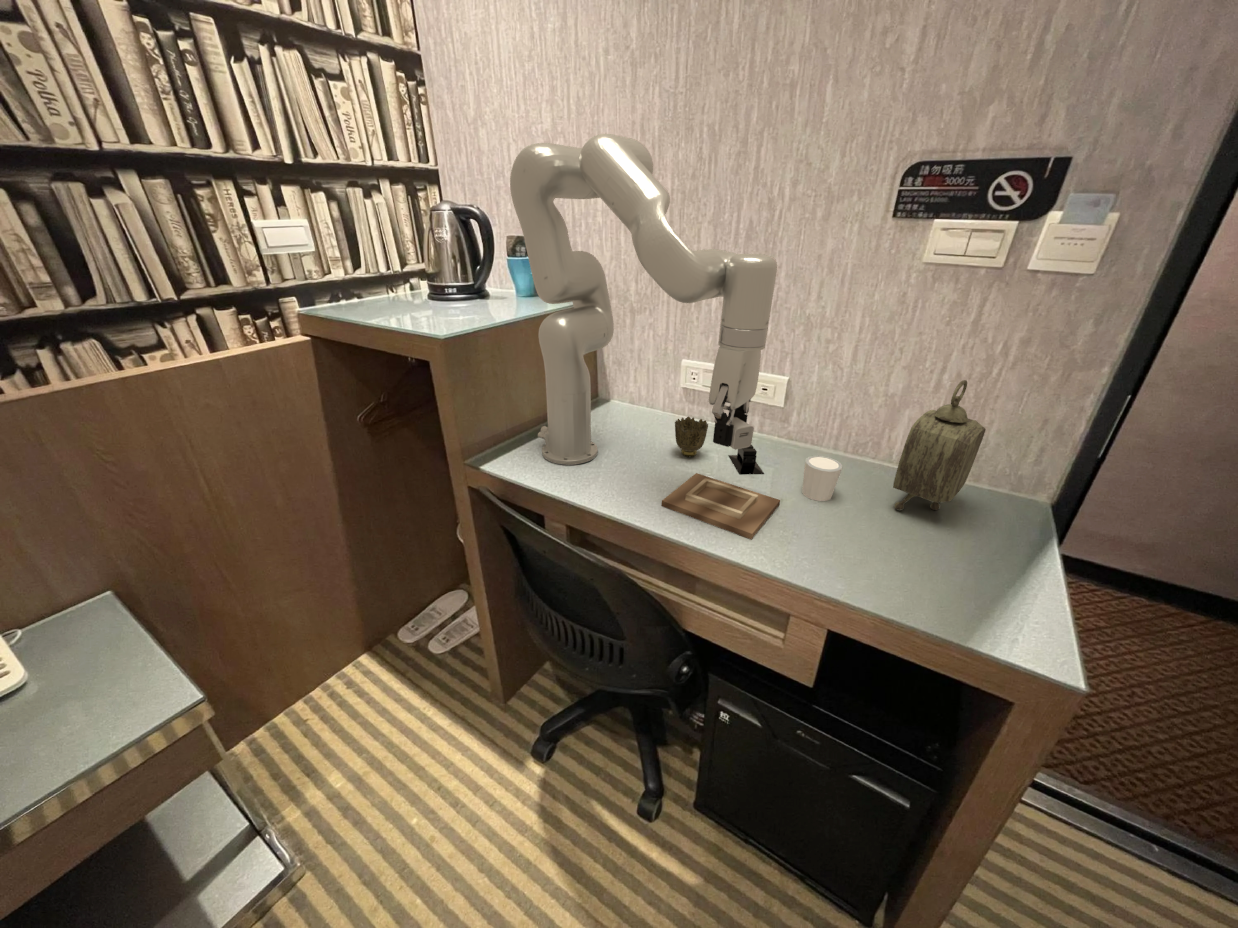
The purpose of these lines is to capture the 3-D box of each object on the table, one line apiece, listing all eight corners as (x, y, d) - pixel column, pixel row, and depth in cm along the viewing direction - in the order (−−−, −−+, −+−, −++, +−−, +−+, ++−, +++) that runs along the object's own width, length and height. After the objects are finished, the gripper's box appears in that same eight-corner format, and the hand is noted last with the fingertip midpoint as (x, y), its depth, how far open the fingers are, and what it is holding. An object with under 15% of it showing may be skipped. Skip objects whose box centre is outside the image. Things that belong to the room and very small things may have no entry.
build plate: (769, 479, 108) (773, 460, 105) (736, 480, 107) (739, 460, 105) (751, 454, 119) (754, 436, 117) (721, 454, 118) (723, 436, 116)
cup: (710, 453, 117) (713, 421, 114) (696, 465, 112) (700, 431, 108) (681, 445, 121) (683, 414, 117) (666, 456, 115) (669, 424, 111)
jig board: (661, 505, 96) (662, 495, 95) (695, 477, 106) (696, 467, 105) (751, 539, 87) (753, 527, 86) (779, 505, 97) (781, 494, 96)
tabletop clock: (910, 484, 106) (949, 368, 94) (959, 501, 100) (1006, 379, 89) (884, 510, 96) (923, 383, 85) (936, 529, 91) (985, 397, 79)
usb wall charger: (732, 450, 87) (735, 428, 85) (709, 435, 93) (711, 414, 91) (751, 446, 89) (754, 425, 87) (727, 431, 94) (729, 411, 93)
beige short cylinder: (836, 490, 103) (843, 459, 100) (833, 506, 97) (841, 474, 94) (801, 482, 106) (807, 452, 102) (796, 497, 100) (803, 466, 97)
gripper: (741, 325, 90) (729, 419, 98) (697, 342, 78) (687, 449, 86) (783, 331, 86) (766, 429, 95) (743, 351, 74) (728, 461, 82)
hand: (729, 437), depth 90 cm, fingers closed on usb wall charger, 5 cm apart
